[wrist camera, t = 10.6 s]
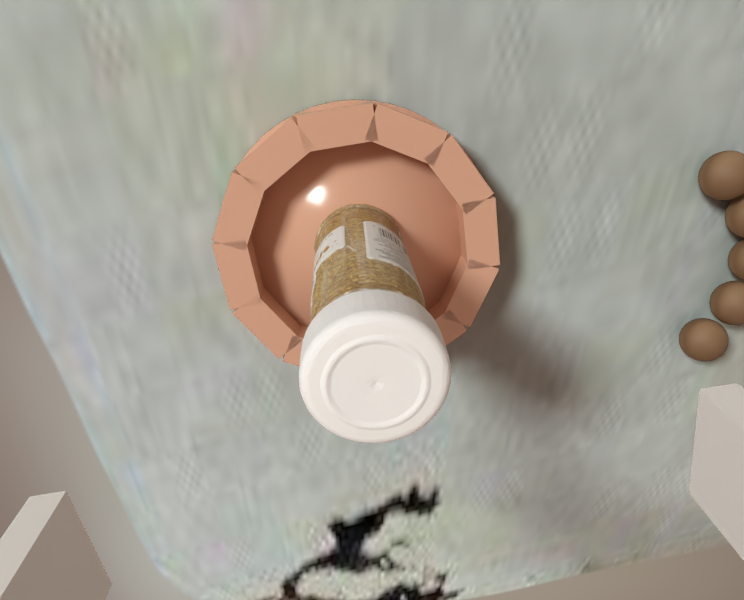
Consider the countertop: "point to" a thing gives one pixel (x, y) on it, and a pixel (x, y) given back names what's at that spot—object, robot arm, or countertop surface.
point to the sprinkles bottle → (369, 333)
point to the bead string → (734, 298)
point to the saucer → (353, 186)
